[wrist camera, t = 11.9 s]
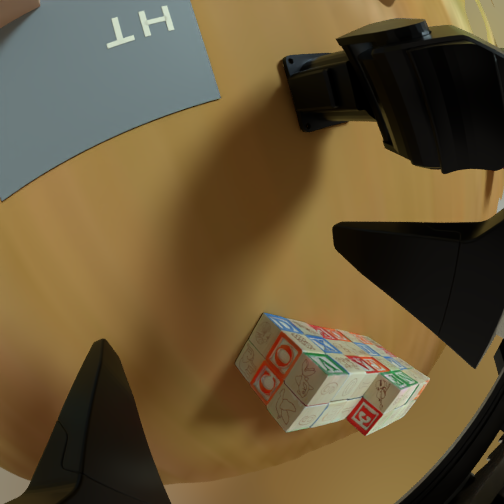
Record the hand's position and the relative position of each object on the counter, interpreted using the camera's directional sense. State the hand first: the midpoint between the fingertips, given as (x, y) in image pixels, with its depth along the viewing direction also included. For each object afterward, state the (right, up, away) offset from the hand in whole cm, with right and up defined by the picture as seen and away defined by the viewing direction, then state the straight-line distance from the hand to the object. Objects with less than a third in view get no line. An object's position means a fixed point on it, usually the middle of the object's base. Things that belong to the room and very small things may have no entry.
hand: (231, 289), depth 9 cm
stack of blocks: (+8, -10, +22) cm, 26 cm away
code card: (-11, +16, 0) cm, 20 cm away
